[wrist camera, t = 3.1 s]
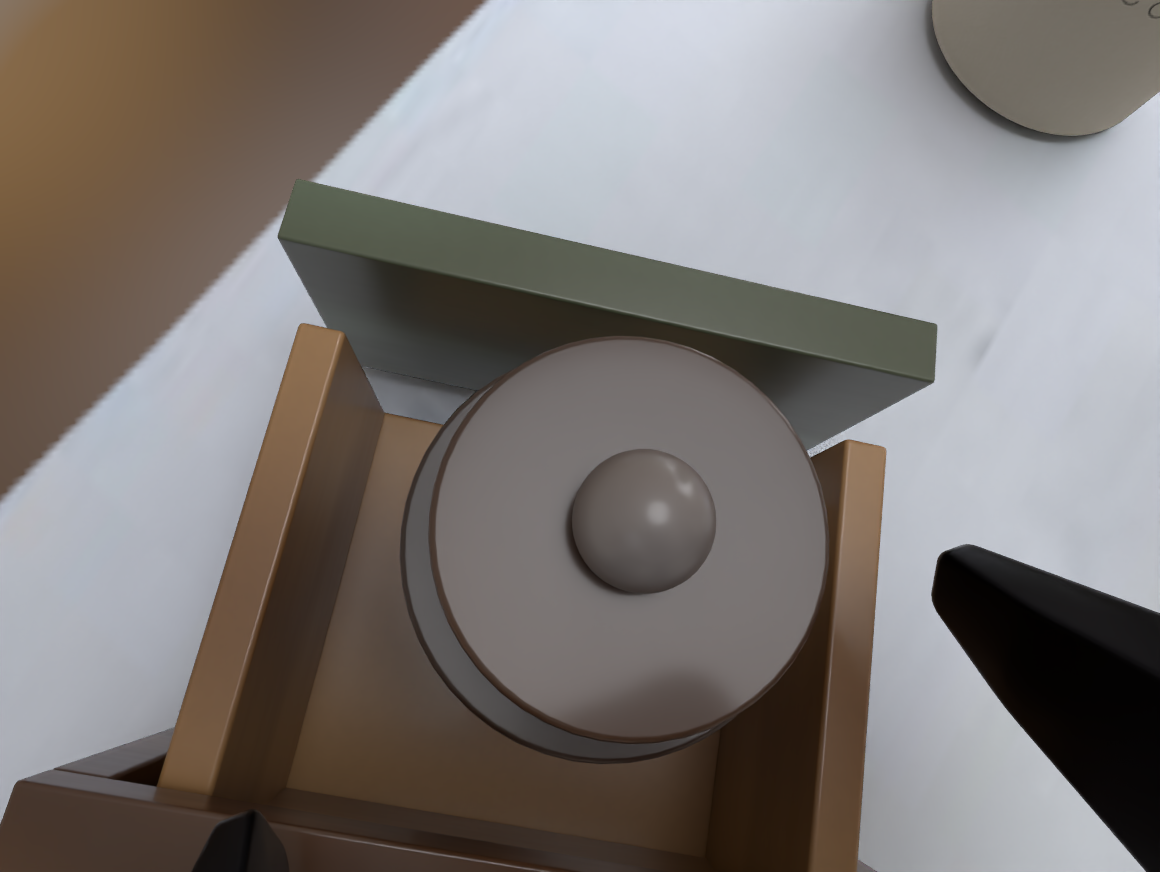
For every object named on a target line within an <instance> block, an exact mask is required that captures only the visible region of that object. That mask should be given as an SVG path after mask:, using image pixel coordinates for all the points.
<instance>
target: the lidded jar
mask: <svg viewBox="0 0 1160 872" xmlns="http://www.w3.org/2000/svg"><path fill="white" fill-rule="evenodd" d="M828 566H829V528H828V518H827V510H826V506H825V502H824V497H823V493H822V488H821V485H820V482H819V480H818V477H817V474H816V471H815V468H814V466H813V463H812V461H811V459H810V457H809V455H808V453H807V451H806V449H805V447H804V445H803V443H802V441H801V439H800V438H799V436H798V435H797V433H796V432H795V430H794V429H793V427H792V426H791V424H790V423H789V421H788V420H787V418H786V417H785V416H784V415H783V414H782V412H781V411H780V410H779V409H778V408H777V406H776V405H775V404H774V403H773V402H772V401H771V400H770V399H769V398H768V397H767V396H766V395H765V394H764V393H763V392H762V391H761V390H760V389H759V388H758V387H757V386H755V385H754V384H753V383H752V382H751V381H749V380H748V379H747V378H745V377H744V376H743V375H741V374H740V373H738V372H737V371H736V370H734V369H733V368H731V367H729V366H728V365H726V364H724V363H722V362H721V361H719V360H717V359H715V358H714V357H712V356H709V355H707V354H705V353H702V352H700V351H697V350H695V349H693V348H690V347H687V346H684V345H680V344H677V343H673V342H670V341H666V340H660V339H653V338H647V337H637V336H609V337H599V338H590V339H586V340H581V341H577V342H572V343H568V344H565V345H562V346H560V347H557V348H554V349H551V350H549V351H546V352H544V353H542V354H540V355H538V356H536V357H534V358H532V359H530V360H528V361H526V362H524V363H522V364H521V365H519V366H518V367H516V368H514V369H512V370H510V371H508V372H506V373H505V374H503V375H501V376H499V377H497V378H495V379H494V380H492V381H491V382H490V383H488V384H487V385H485V386H484V387H482V388H481V389H480V390H478V391H477V392H475V393H474V394H473V395H472V396H471V397H470V398H469V399H468V400H467V401H465V402H464V403H463V404H462V405H461V406H460V407H459V408H458V409H457V410H456V411H455V412H454V413H453V414H452V416H451V417H450V418H449V419H448V420H447V421H446V423H445V424H444V425H443V426H442V427H441V429H440V430H439V431H438V433H437V434H436V436H435V438H434V439H433V441H432V442H431V444H430V445H429V447H428V448H427V450H426V452H425V454H424V456H423V458H422V460H421V462H420V464H419V466H418V468H417V471H416V473H415V475H414V477H413V480H412V484H411V487H410V490H409V493H408V496H407V499H406V503H405V508H404V514H403V520H402V525H401V535H400V568H401V579H402V587H403V592H404V596H405V601H406V605H407V610H408V614H409V616H410V619H411V622H412V624H413V627H414V630H415V633H416V635H417V638H418V641H419V642H420V644H421V646H422V648H423V650H424V652H425V654H426V655H427V657H428V659H429V661H430V663H431V665H432V666H433V668H434V669H435V671H436V672H437V673H438V675H439V676H440V677H441V679H442V680H443V682H444V683H445V684H446V686H447V687H448V688H449V690H450V691H451V692H452V693H453V694H454V695H455V696H456V697H457V698H458V699H459V700H460V701H461V702H462V703H463V704H464V705H465V706H466V708H467V709H468V710H469V711H471V712H472V713H473V714H474V715H476V716H477V717H478V718H479V719H481V720H482V721H483V722H485V723H486V724H487V725H488V726H490V727H491V728H492V729H494V730H496V731H497V732H499V733H501V734H502V735H504V736H506V737H508V738H509V739H511V740H513V741H514V742H516V743H518V744H520V745H523V746H525V747H528V748H530V749H533V750H535V751H538V752H540V753H542V754H545V755H549V756H553V757H557V758H561V759H565V760H569V761H574V762H584V763H593V764H621V763H633V762H638V761H644V760H649V759H655V758H659V757H662V756H665V755H668V754H671V753H674V752H677V751H679V750H682V749H685V748H687V747H689V746H691V745H693V744H695V743H697V742H699V741H701V740H703V739H705V738H707V737H709V736H710V735H712V734H713V733H714V732H716V731H717V730H719V729H720V728H722V727H723V726H724V725H726V724H727V723H729V722H730V721H732V720H733V719H734V718H735V717H736V716H737V715H738V714H739V713H741V712H742V711H744V710H745V709H746V708H748V707H749V706H751V705H752V704H754V703H755V702H757V701H758V700H759V699H760V698H761V697H762V696H763V695H764V694H765V693H766V692H767V691H768V690H769V689H770V688H772V687H773V686H774V685H775V684H776V683H777V682H778V680H779V679H780V678H781V677H782V675H783V674H784V673H785V672H786V671H787V669H788V668H789V667H790V666H791V664H792V663H793V662H794V660H795V658H796V657H797V655H798V653H799V652H800V650H801V649H802V647H803V645H804V644H805V642H806V640H807V638H808V636H809V634H810V631H811V629H812V627H813V624H814V622H815V620H816V618H817V615H818V612H819V608H820V605H821V601H822V598H823V594H824V591H825V586H826V579H827V573H828Z"/></svg>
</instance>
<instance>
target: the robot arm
mask: <svg viewBox="0 0 1160 872" xmlns="http://www.w3.org/2000/svg"><path fill="white" fill-rule="evenodd" d="M931 596H932V602H933V605H934V607H935V609H936V611H937V613H938V615H939V616H940V617H941V619H942V620H943V622H944V623H945V624H946V626H947V627H948V629H949V630H950V631H951V633H952V634H953V636H954V637H955V638H956V640H957V641H958V643H959V644H960V646H961V647H962V648H963V650H964V651H965V653H966V654H967V655H968V657H969V658H970V660H971V661H972V662H973V664H974V665H975V667H976V668H977V669H978V671H979V672H980V674H981V675H982V676H983V678H984V679H985V681H986V682H987V684H988V685H989V686H990V688H991V689H992V691H993V692H994V693H995V695H996V696H997V697H998V699H999V700H1000V701H1001V703H1002V704H1003V705H1004V707H1005V708H1006V709H1007V710H1008V711H1009V713H1010V714H1011V715H1012V716H1013V718H1014V719H1015V720H1016V721H1017V722H1018V724H1019V725H1020V726H1021V727H1022V728H1023V729H1024V731H1025V732H1026V733H1027V734H1028V735H1029V736H1030V738H1031V739H1032V740H1033V741H1034V742H1035V743H1036V744H1037V746H1038V747H1039V748H1040V749H1041V750H1042V751H1043V753H1044V754H1045V755H1046V756H1047V757H1048V758H1049V760H1050V761H1051V762H1052V763H1053V764H1054V765H1055V767H1056V768H1057V769H1058V770H1059V771H1060V772H1061V773H1062V775H1063V776H1064V777H1065V778H1066V779H1067V780H1068V782H1069V783H1070V784H1071V785H1072V786H1073V787H1074V789H1075V790H1076V791H1077V792H1078V793H1079V794H1080V796H1081V797H1082V798H1083V799H1084V800H1085V801H1086V802H1087V804H1088V805H1089V806H1090V807H1091V808H1092V809H1093V811H1094V812H1095V813H1096V814H1097V815H1098V816H1099V818H1100V819H1101V820H1102V821H1103V822H1104V823H1105V824H1106V826H1107V827H1108V828H1109V829H1110V830H1111V831H1112V833H1113V834H1114V835H1115V836H1116V837H1117V838H1118V840H1119V841H1120V842H1121V843H1122V844H1123V845H1124V847H1125V848H1126V849H1127V850H1128V851H1129V852H1130V853H1131V855H1132V856H1133V857H1134V858H1135V859H1136V860H1137V862H1138V863H1139V864H1140V865H1141V866H1142V867H1143V869H1144V870H1145V871H1146V872H1160V613H1158V612H1155V611H1152V610H1150V609H1147V608H1144V607H1141V606H1139V605H1136V604H1133V603H1131V602H1128V601H1125V600H1122V599H1120V598H1117V597H1114V596H1111V595H1109V594H1106V593H1103V592H1101V591H1098V590H1095V589H1092V588H1090V587H1087V586H1084V585H1082V584H1079V583H1076V582H1073V581H1071V580H1068V579H1065V578H1063V577H1060V576H1057V575H1054V574H1052V573H1049V572H1046V571H1044V570H1041V569H1038V568H1035V567H1033V566H1030V565H1027V564H1024V563H1022V562H1019V561H1016V560H1014V559H1011V558H1008V557H1005V556H1003V555H1000V554H997V553H995V552H992V551H989V550H986V549H984V548H981V547H978V546H975V545H970V544H965V545H961V546H958V547H955V548H952V549H950V550H947V551H945V552H943V553H941V554H940V556H939V557H938V560H937V564H936V570H935V576H934V581H933V587H932V593H931ZM191 872H289V864H288V858H287V854H286V851H285V848H284V846H283V844H282V842H281V841H280V839H279V838H278V836H277V835H276V833H275V832H274V831H273V829H272V828H271V826H270V825H269V823H268V822H267V820H266V819H265V818H264V816H263V815H262V813H261V812H260V811H259V810H256V809H249V810H246V811H243V812H241V813H238V814H235V815H233V816H230V817H227V818H224V819H223V820H221V821H220V822H218V823H217V824H216V826H215V827H214V828H213V830H212V832H211V834H210V835H209V837H208V839H207V841H206V843H205V845H204V847H203V849H202V851H201V853H200V855H199V857H198V859H197V861H196V863H195V865H194V867H193V869H192V871H191Z"/></svg>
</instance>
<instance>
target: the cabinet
mask: <svg viewBox="0 0 1160 872" xmlns="http://www.w3.org/2000/svg"><path fill="white" fill-rule="evenodd" d="M174 729H175V727H174V728H171V729H169V730H166V731H163V732H160V733H157V734H154V735H151V736H148V737H145V738H142V739H139V740H136V741H133V742H130V743H127V744H124V745H121V746H119V747H116V748H113V749H110V750H107V751H104V752H101V753H98V754H95V755H92V756H89V757H86V758H83V759H80V760H77V761H74V762H71V763H68V764H66V765H63V766H60V767H57V768H54V769H53V770H48V771H45V772H42V773H39V774H37V775H34V776H31V777H28V778H25V779H22V780H19V781H18V782H17V783H16V784H15V785H14V788H13V791H12V793H11V796H10V799H9V802H8V805H7V807H6V810H5V813H4V816H3V819H2V821H1V824H0V872H191V871H192V869H193V867H194V865H195V863H196V861H197V859H198V857H199V855H200V853H201V851H202V849H203V847H204V845H205V843H206V841H207V839H208V837H209V835H210V834H211V832H212V830H213V828H214V827H215V826H216V824H217V823H218V822H220V821H221V820H223V819H224V818H227V817H230V816H233V815H235V814H238V813H241V812H243V811H246V810H249V809H256V810H259V811H260V812H261V813H262V815H263V816H264V818H265V819H266V820H267V822H268V823H269V825H270V826H271V828H272V829H273V831H274V832H275V833H276V835H277V836H278V838H279V839H280V841H281V842H282V844H283V846H284V848H285V851H286V854H287V858H288V864H289V872H668V871H662V870H656V869H650V868H644V867H638V866H632V865H626V864H620V863H614V862H608V861H602V860H596V859H590V858H584V857H578V856H571V855H565V854H559V853H553V852H547V851H541V850H535V849H529V848H523V847H517V846H511V845H505V844H499V843H493V842H487V841H481V840H475V839H469V838H463V837H457V836H451V835H445V834H439V833H433V832H427V831H421V830H415V829H409V828H403V827H397V826H391V825H384V824H378V823H372V822H366V821H360V820H354V819H348V818H342V817H336V816H330V815H324V814H318V813H312V812H306V811H300V810H294V809H288V808H282V807H276V806H270V805H264V804H258V803H252V802H246V801H240V800H234V799H228V798H222V797H216V796H210V795H204V794H197V793H191V792H185V791H179V790H173V789H167V788H161V787H157V784H158V781H159V777H160V774H161V771H162V768H163V764H164V761H165V758H166V755H167V751H168V748H169V745H170V742H171V738H172V735H173V732H174ZM857 872H877V871H875V870H873V869H872V868H870V867H869V866H867V865H866V864H864V863H863V862H861V861H860V860H858V862H857Z"/></svg>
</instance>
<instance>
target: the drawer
mask: <svg viewBox="0 0 1160 872" xmlns="http://www.w3.org/2000/svg"><path fill="white" fill-rule="evenodd" d="M278 239H279V241H280V243H281V245H282V247H283V248H284V250H285V252H286V254H287V256H288V257H289V259H290V261H291V263H292V265H293V267H294V268H295V270H296V272H297V274H298V276H299V277H300V279H301V281H302V283H303V285H304V286H305V288H306V290H307V292H308V294H309V296H310V297H311V299H312V301H313V303H314V305H315V306H316V308H317V310H318V312H319V314H320V316H321V317H322V319H323V321H324V323H325V325H326V326H327V328H324V327H319V326H315V325H310V324H305V323H303V324H300V325H299V327H298V330H297V333H296V336H295V339H294V343H293V346H292V349H291V352H290V356H289V359H288V362H287V365H286V369H285V372H284V375H283V378H282V382H281V385H280V388H279V391H278V395H277V398H276V401H275V404H274V407H273V411H272V414H271V417H270V420H269V424H268V427H267V430H266V433H265V437H264V440H263V443H262V446H261V450H260V453H259V456H258V459H257V463H256V466H255V469H254V472H253V476H252V479H251V482H250V485H249V489H248V492H247V495H246V498H245V502H244V505H243V508H242V511H241V515H240V518H239V521H238V524H237V528H236V531H235V534H234V537H233V540H232V544H231V547H230V550H229V553H228V557H227V560H226V563H225V566H224V570H223V573H222V576H221V579H220V583H219V586H218V589H217V592H216V596H215V599H214V602H213V605H212V609H211V612H210V615H209V618H208V622H207V625H206V628H205V631H204V635H203V638H202V641H201V644H200V648H199V651H198V654H197V657H196V661H195V664H194V667H193V670H192V673H191V677H190V680H189V683H188V686H187V690H186V693H185V696H184V699H183V703H182V706H181V709H180V712H179V716H178V719H177V722H176V725H175V729H174V732H173V735H172V738H171V742H170V745H169V748H168V751H167V755H166V758H165V761H164V764H163V768H162V771H161V774H160V777H159V781H158V784H157V787H161V788H167V789H173V790H179V791H185V792H191V793H197V794H204V795H210V796H216V797H222V798H228V799H234V800H240V801H246V802H252V803H258V804H264V805H270V806H276V807H282V808H288V809H294V810H300V811H306V812H312V813H318V814H324V815H330V816H336V817H342V818H348V819H354V820H360V821H366V822H372V823H378V824H384V825H391V826H397V827H403V828H409V829H415V830H421V831H427V832H433V833H439V834H445V835H451V836H457V837H463V838H469V839H475V840H481V841H487V842H493V843H499V844H505V845H511V846H517V847H523V848H529V849H535V850H541V851H547V852H553V853H559V854H565V855H571V856H578V857H584V858H590V859H596V860H602V861H608V862H614V863H620V864H626V865H632V866H638V867H644V868H650V869H656V870H662V871H668V872H857V862H858V847H859V833H860V819H861V805H862V790H863V776H864V762H865V748H866V733H867V719H868V705H869V691H870V676H871V662H872V648H873V634H874V619H875V605H876V591H877V577H878V563H879V548H880V534H881V520H882V506H883V491H884V477H885V463H886V448H884V447H882V446H877V445H873V444H868V443H863V442H859V441H854V440H849V439H848V440H844V441H842V442H840V443H838V444H836V445H835V446H833V447H831V448H829V449H827V450H825V451H823V452H821V453H819V454H817V455H815V456H813V457H811V458H810V459H811V461H812V463H813V466H814V468H815V471H816V474H817V477H818V480H819V482H820V485H821V488H822V493H823V497H824V502H825V506H826V510H827V518H828V528H829V566H828V573H827V579H826V586H825V591H824V594H823V598H822V601H821V605H820V608H819V612H818V615H817V618H816V620H815V622H814V624H813V627H812V629H811V631H810V634H809V636H808V638H807V640H806V642H805V644H804V645H803V647H802V649H801V650H800V652H799V653H798V655H797V657H796V658H795V660H794V662H793V663H792V664H791V666H790V667H789V668H788V669H787V671H786V672H785V673H784V674H783V675H782V677H781V678H780V679H779V680H778V682H777V683H776V684H775V685H774V686H773V687H772V688H770V689H769V690H768V691H767V692H766V693H765V694H764V695H763V696H762V697H761V698H760V699H759V700H758V701H757V702H755V703H754V704H752V705H751V706H749V707H748V708H746V709H745V710H744V711H742V712H741V713H739V714H738V715H737V716H736V717H735V718H734V719H733V720H732V721H730V722H729V723H727V724H726V725H724V726H723V727H722V728H720V729H719V730H717V731H716V732H714V733H713V734H712V735H710V736H709V737H707V738H705V739H703V740H701V741H699V742H697V743H695V744H693V745H691V746H689V747H687V748H685V749H682V750H679V751H677V752H674V753H671V754H668V755H665V756H662V757H659V758H655V759H649V760H644V761H638V762H633V763H621V764H593V763H584V762H574V761H569V760H565V759H561V758H557V757H553V756H549V755H545V754H542V753H540V752H538V751H535V750H533V749H530V748H528V747H525V746H523V745H520V744H518V743H516V742H514V741H513V740H511V739H509V738H508V737H506V736H504V735H502V734H501V733H499V732H497V731H496V730H494V729H492V728H491V727H490V726H488V725H487V724H486V723H485V722H483V721H482V720H481V719H479V718H478V717H477V716H476V715H474V714H473V713H472V712H471V711H469V710H468V709H467V708H466V706H465V705H464V704H463V703H462V702H461V701H460V700H459V699H458V698H457V697H456V696H455V695H454V694H453V693H452V692H451V691H450V690H449V688H448V687H447V686H446V684H445V683H444V682H443V680H442V679H441V677H440V676H439V675H438V673H437V672H436V671H435V669H434V668H433V666H432V665H431V663H430V661H429V659H428V657H427V655H426V654H425V652H424V650H423V648H422V646H421V644H420V642H419V641H418V638H417V635H416V633H415V630H414V627H413V624H412V622H411V619H410V616H409V614H408V610H407V605H406V601H405V596H404V592H403V587H402V579H401V568H400V535H401V525H402V520H403V514H404V508H405V503H406V499H407V496H408V493H409V490H410V487H411V484H412V480H413V477H414V475H415V473H416V471H417V468H418V466H419V464H420V462H421V460H422V458H423V456H424V454H425V452H426V450H427V448H428V447H429V445H430V444H431V442H432V441H433V439H434V438H435V436H436V434H437V433H438V431H439V430H440V429H441V427H442V426H443V425H442V424H437V423H432V422H427V421H423V420H418V419H413V418H408V417H403V416H398V415H394V414H389V413H384V411H383V409H382V407H381V405H380V403H379V401H378V399H377V397H376V395H375V393H374V391H373V389H372V387H371V385H370V383H369V381H368V379H367V377H366V375H365V373H364V371H363V369H362V367H361V366H363V367H368V368H373V369H378V370H382V371H387V372H392V373H397V374H401V375H406V376H411V377H416V378H420V379H425V380H430V381H435V382H439V383H444V384H449V385H454V386H458V387H463V388H468V389H473V390H480V389H481V388H482V387H484V386H485V385H487V384H488V383H490V382H491V381H492V380H494V379H495V378H497V377H499V376H501V375H503V374H505V373H506V372H508V371H510V370H512V369H514V368H516V367H518V366H519V365H521V364H522V363H524V362H526V361H528V360H530V359H532V358H534V357H536V356H538V355H540V354H542V353H544V352H546V351H549V350H551V349H554V348H557V347H560V346H562V345H565V344H568V343H572V342H577V341H581V340H586V339H590V338H599V337H609V336H637V337H647V338H653V339H660V340H666V341H670V342H673V343H677V344H680V345H684V346H687V347H690V348H693V349H695V350H697V351H700V352H702V353H705V354H707V355H709V356H712V357H714V358H715V359H717V360H719V361H721V362H722V363H724V364H726V365H728V366H729V367H731V368H733V369H734V370H736V371H737V372H738V373H740V374H741V375H743V376H744V377H745V378H747V379H748V380H749V381H751V382H752V383H753V384H754V385H755V386H757V387H758V388H759V389H760V390H761V391H762V392H763V393H764V394H765V395H766V396H767V397H768V398H769V399H770V400H771V401H772V402H773V403H774V404H775V405H776V406H777V408H778V409H779V410H780V411H781V412H782V414H783V415H784V416H785V417H786V418H787V420H788V421H789V423H790V424H791V426H792V427H793V429H794V430H795V432H796V433H797V435H798V436H799V438H800V439H801V441H802V443H803V445H804V447H805V449H806V451H807V450H809V449H811V448H813V447H814V446H816V445H818V444H820V443H822V442H824V441H826V440H828V439H829V438H831V437H833V436H835V435H837V434H839V433H841V432H842V431H844V430H846V429H848V428H850V427H852V426H854V425H856V424H857V423H859V422H861V421H863V420H865V419H867V418H869V417H871V416H872V415H874V414H876V413H878V412H880V411H882V410H884V409H886V408H887V407H889V406H891V405H893V404H895V403H897V402H899V401H900V400H902V399H904V398H906V397H908V396H910V395H912V394H914V393H915V392H917V391H919V390H921V389H923V388H925V387H927V386H929V385H930V384H932V383H933V382H934V380H935V362H936V343H937V325H936V324H934V323H930V322H925V321H921V320H916V319H912V318H908V317H903V316H899V315H894V314H890V313H886V312H881V311H877V310H872V309H868V308H864V307H859V306H855V305H850V304H846V303H842V302H837V301H833V300H828V299H824V298H820V297H815V296H811V295H806V294H802V293H798V292H793V291H789V290H784V289H780V288H776V287H771V286H767V285H762V284H758V283H754V282H749V281H745V280H740V279H736V278H732V277H727V276H723V275H718V274H714V273H710V272H705V271H701V270H696V269H692V268H688V267H683V266H679V265H674V264H670V263H666V262H661V261H657V260H652V259H648V258H644V257H639V256H635V255H630V254H626V253H622V252H617V251H613V250H608V249H604V248H600V247H595V246H591V245H586V244H582V243H578V242H573V241H569V240H564V239H560V238H556V237H551V236H547V235H542V234H538V233H534V232H529V231H525V230H520V229H516V228H512V227H507V226H503V225H498V224H494V223H490V222H485V221H481V220H476V219H472V218H468V217H463V216H459V215H454V214H450V213H446V212H441V211H437V210H433V209H428V208H424V207H419V206H415V205H411V204H406V203H402V202H397V201H393V200H389V199H384V198H380V197H375V196H371V195H367V194H362V193H358V192H353V191H349V190H345V189H340V188H336V187H331V186H327V185H323V184H318V183H314V182H309V181H305V180H301V179H297V180H296V182H295V184H294V188H293V190H292V193H291V197H290V200H289V203H288V206H287V209H286V212H285V215H284V218H283V221H282V224H281V227H280V230H279V233H278Z"/></svg>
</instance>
